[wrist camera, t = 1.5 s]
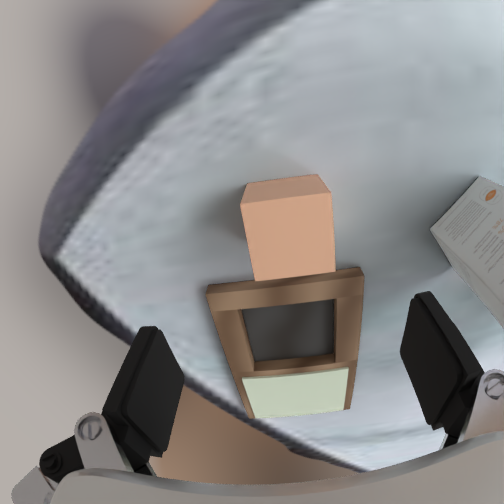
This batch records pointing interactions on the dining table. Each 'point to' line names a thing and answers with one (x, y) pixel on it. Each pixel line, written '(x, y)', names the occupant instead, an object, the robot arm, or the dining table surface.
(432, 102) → the dining table surface
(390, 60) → the dining table surface
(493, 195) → the small box
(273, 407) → the hole board
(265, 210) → the terracotta cube
